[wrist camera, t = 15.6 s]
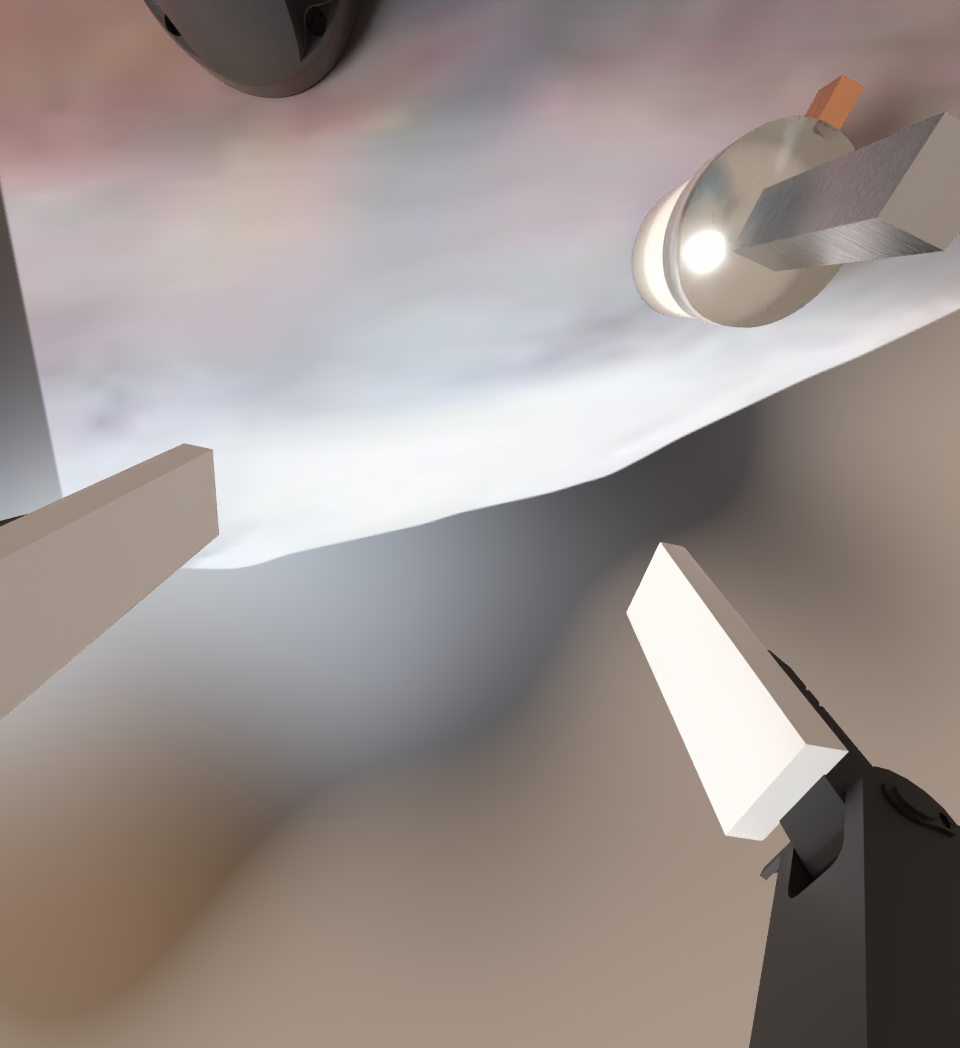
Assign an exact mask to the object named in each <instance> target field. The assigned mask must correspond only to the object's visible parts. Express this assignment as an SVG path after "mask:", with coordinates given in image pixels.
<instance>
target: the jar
mask: <svg viewBox="0 0 960 1048" xmlns="http://www.w3.org/2000/svg"><path fill="white" fill-rule="evenodd" d="M690 180H691V179H690ZM690 180H688V181H686V182H685V183H683V184H682V185H680V186H679V187H677V188H675V189H674V190H672V191H671V192H669V193H668V194H667V195H665V196H664V197H663V198H662V199H661V200H660V201H659V202H657V204H656V205H655V206H654V207H653V208H652V209H651V211H650V212H649V213H648V215H647V216H646V218H645V219H644V221H643V223H642V225H641V227H640V229H639V231H638V234H637V236H636V240H635V243H634V247H633V252H632V274H633V279H634V283H635V286H636V289H637V291H638V293H639V295H640V296H641V298H642V299H643V300H644V302H645V303H646V304H647V305H648V306H649V307H651V308H652V309H653V310H655V311H657V312H659V313H661V314H663V315H667V316H673V317H688V318H692V317H691V316H689V315H688V314H687V313H685V312H684V311H683V310H682V309H681V308H680V307H679V306H678V305H677V303H676V302H675V300H674V299H673V297H672V295H671V293H670V291H669V289H668V287H667V284H666V280H665V277H664V271H663V260H662V252H663V241H664V236H665V231H666V227H667V224H668V220H669V217H670V215H671V212H672V210H673V207H674V205H675V203H676V202H677V200H678V198H679V196H680V194H681V193H682V191H683V189H684V188H685V186H686V185H687V183H688V182H689V181H690Z"/></svg>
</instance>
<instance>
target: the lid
mask: <svg viewBox="0 0 960 1048" xmlns="http://www.w3.org/2000/svg"><path fill="white" fill-rule="evenodd" d="M863 89H864V86H862V85H860V84H858V83H856V82H855V81H853V80H851V79H849V78H847V77H845V76H844V75H842V76H840V77H839V78H837V79H836V80H834V81H833V82H831V83H830V84H828V85H827V86H825V87H823V88H822V89H820V90H819V91H818V93H817V95H816V97H815V99H814V101H813V103H812V104H811V106H810V108H809V110H808V112H807V114H806V116H805V117H789V118H783V119H779V120H776V121H772V122H769V123H767V124H765V125H762V126H760V127H758V128H756V129H754V130H753V131H751V132H749V133H748V134H746V135H745V136H743V137H742V138H740V139H739V140H737V141H736V142H734V143H733V144H731V145H730V146H728V147H727V148H725V149H724V150H722V151H721V152H719V153H718V154H716V155H715V156H714V157H713V158H711V159H710V160H709V161H708V162H706V163H705V164H704V165H703V166H702V167H701V168H700V169H699V170H698V171H697V172H696V173H695V175H694V176H693V177H692V178H691V180H690V181H689V182H688V183H687V185H686V186H685V188H684V189H683V191H682V193H681V194H680V196H679V198H678V200H677V202H676V203H675V205H674V207H673V210H672V212H671V215H670V217H669V220H668V224H667V227H666V231H665V236H664V241H663V252H662V260H663V271H664V277H665V280H666V284H667V287H668V289H669V291H670V293H671V295H672V297H673V299H674V300H675V302H676V303H677V305H678V306H679V307H680V308H681V309H682V310H683V311H684V312H685V313H687V314H688V315H689V316H691V317H692V318H694V319H696V320H698V321H700V322H703V323H706V324H711V325H718V326H730V327H757V326H762V325H766V324H770V323H773V322H776V321H778V320H781V319H783V318H785V317H787V316H789V315H791V314H793V313H794V312H796V311H797V310H799V309H800V308H802V307H803V306H805V305H806V304H807V303H808V302H810V301H811V300H812V299H813V298H814V297H816V296H817V295H818V294H819V293H820V292H821V291H822V290H823V289H824V288H825V286H826V285H827V284H828V283H829V282H830V281H831V279H832V278H833V277H834V276H835V274H836V273H837V271H838V270H839V268H840V267H841V266H842V264H843V263H849V262H857V261H865V260H873V259H882V258H890V257H898V256H906V255H914V254H923V253H931V252H939V251H944V250H945V249H946V248H947V246H948V245H949V244H950V242H951V241H952V239H953V238H954V237H955V235H956V234H957V233H958V231H959V230H960V119H959V118H957V117H955V116H953V115H951V114H950V113H948V112H943V113H941V114H938V115H936V116H934V117H931V118H929V119H927V120H924V121H922V122H920V123H917V124H915V125H913V126H910V127H908V128H906V129H903V130H901V131H899V132H896V133H894V134H892V135H889V136H887V137H885V138H882V139H880V140H878V141H875V142H873V143H871V144H868V145H866V146H864V147H861V148H859V149H857V150H855V148H854V146H853V145H852V143H851V142H850V140H849V139H848V138H847V137H846V136H845V135H844V134H843V133H842V132H841V131H840V129H841V127H842V126H843V124H844V122H845V120H846V119H847V117H848V115H849V113H850V112H851V110H852V108H853V106H854V104H855V103H856V101H857V99H858V97H859V96H860V94H861V92H862V90H863Z"/></svg>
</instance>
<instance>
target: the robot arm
mask: <svg viewBox="0 0 960 1048" xmlns="http://www.w3.org/2000/svg"><path fill="white" fill-rule="evenodd" d="M144 1H145V3H146V5H147V6H148V8H149V9H150V11H151V12H152V14H153V15H154V16H155V18H156V19H157V20H158V22H159V23H160V25H161V26H162V27H163V28H164V29H165V31H166V32H167V33H168V34H169V35H170V37H171V38H172V39H173V40H174V41H175V42H176V43H177V44H178V45H179V46H180V47H181V48H182V49H183V50H184V51H185V52H186V53H187V54H188V55H189V56H190V57H192V58H193V59H194V60H195V61H196V62H198V63H199V64H200V65H201V66H202V67H203V68H205V69H206V70H207V71H208V72H209V73H211V74H212V75H213V76H215V77H216V78H217V79H219V80H220V81H222V82H223V83H225V84H227V85H229V86H230V87H232V88H234V89H237V90H239V91H241V92H244V93H247V94H250V95H254V96H259V97H266V98H280V97H286V96H291V95H294V94H297V93H300V92H302V91H304V90H306V89H308V88H310V87H311V86H313V85H314V84H316V83H317V82H318V81H319V80H321V79H322V78H323V77H324V76H325V75H326V74H327V73H328V72H329V71H330V69H331V68H332V67H333V66H334V64H335V63H336V62H337V60H338V59H339V57H340V55H341V54H342V52H343V50H344V48H345V46H346V44H347V42H348V40H349V37H350V35H351V32H352V29H353V26H354V23H355V20H356V16H357V12H358V7H359V2H360V0H144ZM218 535H219V529H218V516H217V502H216V489H215V475H214V462H213V449H208V448H203V447H199V446H194V445H189V444H182V445H180V446H177V447H175V448H173V449H171V450H168V451H166V452H164V453H162V454H160V455H157V456H155V457H153V458H151V459H149V460H146V461H144V462H142V463H140V464H138V465H135V466H133V467H131V468H129V469H126V470H124V471H122V472H120V473H118V474H115V475H113V476H111V477H109V478H107V479H104V480H102V481H100V482H98V483H95V484H93V485H91V486H89V487H87V488H84V489H82V490H80V491H78V492H76V493H73V494H71V495H69V496H67V497H65V498H62V499H60V500H58V501H56V502H53V503H51V504H49V505H47V506H45V507H42V508H40V509H38V510H36V511H34V512H31V513H29V514H25V515H22V516H18V517H14V518H10V519H6V520H2V521H0V720H1V719H2V718H3V717H5V716H6V715H7V714H8V713H9V712H10V711H12V710H13V709H14V708H15V707H16V706H18V705H19V704H20V703H21V702H22V701H23V700H25V699H26V698H27V697H28V696H29V695H30V694H32V693H33V692H34V691H35V690H36V689H38V688H39V687H40V686H41V685H42V684H43V683H45V682H46V681H47V680H48V679H49V678H51V677H52V676H53V675H54V674H55V673H56V672H58V671H59V670H60V669H61V668H62V667H64V666H65V665H66V664H67V663H68V662H69V661H71V660H72V659H73V658H74V657H75V656H76V655H78V654H79V653H80V652H81V651H82V650H83V649H85V648H86V647H87V646H88V645H89V644H90V643H92V642H93V641H94V640H95V639H97V638H98V637H99V636H100V635H101V634H102V633H103V632H105V631H106V630H107V629H108V628H110V627H111V626H112V625H113V624H114V623H115V622H117V621H118V620H119V619H120V618H121V617H122V616H124V615H125V614H126V613H127V612H128V611H129V610H131V609H132V608H133V607H134V606H135V605H137V604H138V603H139V602H140V601H141V600H143V599H144V598H145V597H146V596H147V595H148V594H150V593H151V592H152V591H153V590H154V589H155V588H156V587H158V586H159V585H160V584H161V583H163V582H164V581H165V580H166V579H167V578H168V577H170V576H171V575H172V574H173V573H174V572H175V571H176V570H178V569H179V568H180V567H181V566H183V565H184V564H185V563H186V562H187V561H189V560H190V559H191V558H192V557H193V556H194V555H196V554H197V553H198V552H199V551H200V550H201V549H203V548H204V547H205V546H206V545H207V544H209V543H210V542H211V541H212V540H213V539H214V538H216V537H217V536H218ZM627 615H628V617H629V620H630V622H631V624H632V626H633V628H634V631H635V633H636V635H637V638H638V640H639V642H640V644H641V646H642V649H643V651H644V653H645V656H646V658H647V660H648V662H649V664H650V667H651V669H652V671H653V673H654V676H655V678H656V680H657V682H658V685H659V687H660V689H661V691H662V693H663V696H664V698H665V700H666V703H667V705H668V707H669V709H670V711H671V714H672V716H673V718H674V721H675V723H676V725H677V727H678V730H679V732H680V734H681V736H682V738H683V741H684V743H685V745H686V747H687V750H688V752H689V754H690V756H691V759H692V761H693V763H694V765H695V768H696V770H697V772H698V774H699V777H700V779H701V781H702V783H703V785H704V788H705V790H706V792H707V795H708V797H709V799H710V801H711V804H712V806H713V808H714V810H715V813H716V814H717V817H718V819H719V822H720V824H721V826H722V828H723V830H724V833H725V835H727V836H734V837H741V838H747V839H754V840H761V841H763V840H764V838H766V837H767V836H768V835H769V833H770V832H771V831H772V830H773V829H774V828H775V827H776V826H777V825H778V824H779V823H781V825H782V827H783V829H784V830H785V832H786V834H787V836H788V837H789V839H790V841H791V842H790V843H789V844H788V845H787V846H786V847H785V848H784V849H783V850H782V851H781V852H780V853H779V854H777V855H776V856H775V857H774V858H773V859H772V860H771V861H770V862H769V863H768V864H767V865H766V866H765V867H764V869H763V871H762V872H761V874H760V876H762V877H763V878H764V879H766V880H767V879H768V878H769V877H770V876H771V875H772V874H773V873H777V872H778V876H777V881H776V887H775V894H774V900H773V906H772V912H771V918H770V924H769V930H768V936H767V942H766V948H765V955H764V961H763V967H762V973H761V979H760V985H759V991H758V997H757V1003H756V1009H755V1016H754V1021H753V1028H752V1034H751V1040H750V1046H749V1048H960V826H958V825H957V824H956V823H955V822H954V820H953V819H952V818H951V817H950V816H949V814H948V813H947V812H946V811H945V809H944V808H943V807H942V806H940V805H939V804H938V803H937V802H936V801H935V800H934V799H933V798H932V797H931V796H929V795H928V794H927V793H926V792H925V791H924V790H922V789H921V788H919V787H918V786H916V785H915V784H914V783H912V782H911V781H909V780H908V779H906V778H904V777H902V776H900V775H898V774H896V773H894V772H892V771H890V770H887V769H883V768H880V767H873V766H872V765H871V764H870V763H869V762H868V761H867V759H866V758H865V757H864V756H863V755H862V753H861V752H860V751H859V750H858V748H857V747H856V746H855V745H854V744H853V742H852V741H851V740H850V739H849V738H848V736H847V735H846V734H845V733H844V732H843V730H842V729H841V728H840V727H839V726H838V724H837V723H836V722H835V721H834V720H833V718H832V717H831V716H830V715H829V714H828V712H827V711H826V710H825V709H824V708H823V707H822V706H819V701H818V700H817V699H816V698H815V697H814V695H813V694H812V693H811V692H810V691H809V690H806V686H805V685H804V683H803V682H802V681H801V680H800V679H799V678H798V676H797V675H796V674H795V673H794V671H793V670H792V669H791V668H790V667H789V666H788V665H787V664H785V663H784V662H783V661H782V660H780V659H779V658H778V657H777V656H776V655H774V654H773V653H772V652H771V651H770V650H767V649H766V648H765V647H764V646H763V644H762V643H761V642H760V641H759V639H758V638H757V637H756V636H755V634H753V632H752V631H751V630H750V628H749V627H748V626H747V625H746V623H745V622H744V621H743V620H742V618H741V617H740V616H739V615H738V614H737V612H736V611H735V610H734V608H733V607H732V606H731V605H730V603H729V602H728V601H727V600H726V599H725V597H724V596H723V595H722V594H721V592H720V591H719V590H718V589H717V587H716V586H715V585H714V584H713V583H712V581H711V580H710V579H709V577H708V576H707V575H706V574H705V572H704V571H703V570H702V569H701V567H700V566H699V565H698V564H697V562H696V561H695V560H694V559H693V558H692V556H691V555H690V554H689V553H688V551H687V550H686V549H685V548H684V547H682V546H676V545H672V544H667V543H663V542H660V543H659V545H658V548H657V550H656V552H655V554H654V556H653V558H652V560H651V563H650V564H649V566H648V569H647V571H646V573H645V575H644V577H643V579H642V581H641V583H640V585H639V588H638V590H637V592H636V594H635V596H634V598H633V600H632V602H631V604H630V606H629V608H628V611H627Z"/></svg>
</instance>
